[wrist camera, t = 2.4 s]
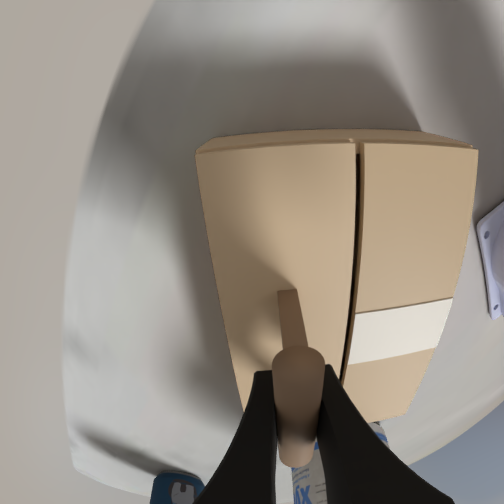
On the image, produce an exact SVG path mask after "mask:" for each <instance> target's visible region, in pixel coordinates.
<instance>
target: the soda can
mask: <svg viewBox="0 0 504 504" xmlns="http://www.w3.org/2000/svg"><path fill="white" fill-rule="evenodd" d="M204 488H205V486H204V484H203V482H202V481H201V479H200V478H198V477H196V476H194V475H191V474H187V473H183V472H177V471H163V472H161V473H160V474H159V475H158V476H157V477H156V478H155V479H154V483H153V488H152V493H151V499H150V504H192V503H193V502H194V501H195V499H196V498H197V497H198V496H199V494H200V493H201V492H202V491H203V489H204Z"/></svg>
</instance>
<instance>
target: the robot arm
mask: <svg viewBox="0 0 504 504" xmlns="http://www.w3.org/2000/svg"><path fill="white" fill-rule="evenodd" d="M485 232H486V233H485ZM477 233H478V238H479V243H480V248H481V253H482V258H483V264H484V270H485V277H486V284H487V293H488V302H489V313H490V318H491V319H492V320H495V319H497V318H498V317H499V316H500V315H503V316H504V201H503V202H502V203H501V204H500V205H499V206H497V207H496V208H495V209H494V210H492V211H491V212H490V213H489V214H487V215H486V216H485V217H484V218H482V219H481V220H480V221H479V222H478V224H477ZM484 234H485V235H484ZM316 438H317V442H318V447H319V451H320V456H321V461H322V465H323V470H324V476H325V484H326V495H327V504H455V503H454V501H453V499H452V498H450V497H449V496H447V495H445V494H444V493H442V492H440V491H439V490H437V489H436V488H435V487H433V486H432V485H430V484H429V483H427V482H426V481H425V480H424V479H422V478H421V477H420V476H418V475H417V474H416V473H415V472H414V471H412V470H411V469H410V468H409V467H408V466H407V465H406V464H404V463H403V462H402V461H401V460H400V459H399V458H398V457H397V456H396V455H395V454H394V453H393V452H392V451H391V450H390V449H389V448H388V447H387V446H386V445H385V444H384V443H383V442H382V440H381V439H380V438H379V437H378V436H377V435H376V433H375V432H374V431H373V430H372V428H371V427H370V426H369V425H368V423H367V422H366V421H365V419H364V418H363V417H362V415H361V414H360V412H359V411H358V409H357V408H356V407H355V405H354V404H353V402H352V401H351V399H350V398H349V396H348V394H347V393H346V391H345V389H344V388H343V386H342V384H341V383H340V381H339V379H338V377H337V375H336V373H335V371H334V369H333V367H332V365H330V364H325V372H324V381H323V390H322V398H321V405H320V413H319V420H318V427H317V433H316ZM276 454H277V423H276V411H275V399H274V387H273V375H272V370H263V371H256V372H255V373H254V377H253V383H252V388H251V392H250V396H249V399H248V402H247V405H246V408H245V411H244V414H243V417H242V419H241V422H240V425H239V427H238V429H237V431H236V434H235V436H234V438H233V440H232V442H231V445H230V447H229V448H228V450H227V452H226V454H225V456H224V458H223V460H222V461H221V463H220V465H219V467H218V468H217V470H216V471H215V473H214V474H213V476H212V478H211V479H210V481H209V482H208V484H207V485H206V486H205V488H204V489H203V491H202V492H201V493H200V494H199V496H198V497H197V498H196V499H195V501H194V502H193V503H192V504H276V493H275V471H276Z"/></svg>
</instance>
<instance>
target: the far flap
mask: <svg viewBox="0 0 504 504" xmlns="http://www.w3.org/2000/svg"><path fill="white" fill-rule="evenodd" d="M195 161H196V168H197V175H198V181H199V188H200V194H201V200H202V206H203V213H204V219H205V224H206V230H207V236H208V242H209V247H210V253H211V259H212V264H213V269H214V275H215V280H216V285H217V291H218V296H219V301H220V306H221V311H222V316H223V321H224V326H225V331H226V335H227V340H228V345H229V349H230V354H231V359H232V363H233V368H234V372H235V377H236V381H237V386H238V390H239V394H240V399H241V403H242V407H243V411H245V408H246V405H247V402H248V399H249V396H250V392H251V388H252V383H253V377H254V373H255V372H256V371H263V370H272V375H273V387H274V399H275V411H276V423H277V436H278V448H279V458H280V460H281V462H282V463H283V464H285V465H286V466H288V467H292V468H298V467H302V466H305V465H306V464H308V463H309V462H310V461H311V459H312V457H313V452H314V446H315V440H316V433H317V427H318V420H319V413H320V405H321V398H322V390H323V381H324V372H325V364H330V365H332V367H333V369H334V371H335V373H336V375H337V377H338V379H339V375H340V369H341V362H342V356H343V349H344V342H345V334H346V326H347V318H348V309H349V300H350V289H351V278H352V265H353V250H354V231H355V199H356V155H355V143H353V142H322V143H299V144H283V145H269V146H258V147H247V148H237V149H228V150H220V151H212V152H204V153H197V154H196V155H195Z"/></svg>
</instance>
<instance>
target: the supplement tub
mask: <svg viewBox="0 0 504 504" xmlns="http://www.w3.org/2000/svg"><path fill="white" fill-rule="evenodd" d="M368 425H369V426H370V427H371V428H372V430H373V431H374V432H375V433H376V435H377V436H378V437H379V438H380V439H381V440H382V442H383V443H384V444H385V445H386V446H387V447H388V448H389V445H388V442H387V439H386V435H385V432H384V430H383V429H382V427H380V426H379V425H377V424H376V423H373V422H371V423H368ZM291 469H292V481H293V495H294V504H327V495H326V484H325V476H324V470H323V465H322V461H321V456H320V451H319V447H318V442H317V438H316V440H315V446H314V452H313V457H312V459H311V461H310V462H309V463H308V464H306V465H305V466H302V467H298V468H292V467H291Z"/></svg>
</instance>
